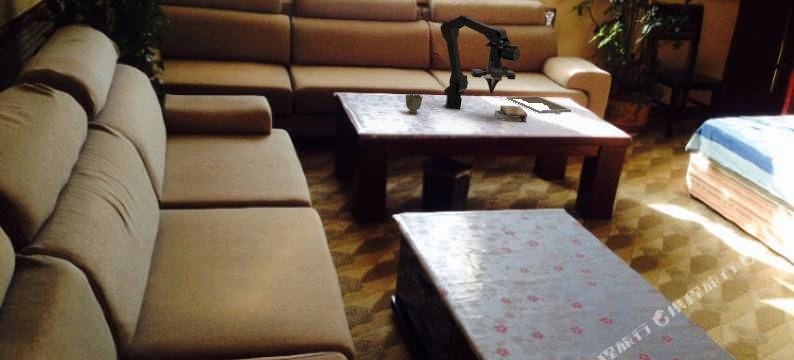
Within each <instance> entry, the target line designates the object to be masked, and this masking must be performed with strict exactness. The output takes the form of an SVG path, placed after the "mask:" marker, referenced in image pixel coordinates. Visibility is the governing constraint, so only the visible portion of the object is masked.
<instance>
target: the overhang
mask: <svg viewBox="0 0 794 360" xmlns="http://www.w3.org/2000/svg"><path fill="white" fill-rule="evenodd" d="M499 110H500V111H504V112H505V113H506V114H507V115H520V118H505V120H512V121H511V122H522V121H523V123H527V119H528V113H527V112H526V111H525V110H524V109H523V108H522V106H520V105H519V106H517V105H500V109H499ZM513 120H514V121H513Z"/></svg>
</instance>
